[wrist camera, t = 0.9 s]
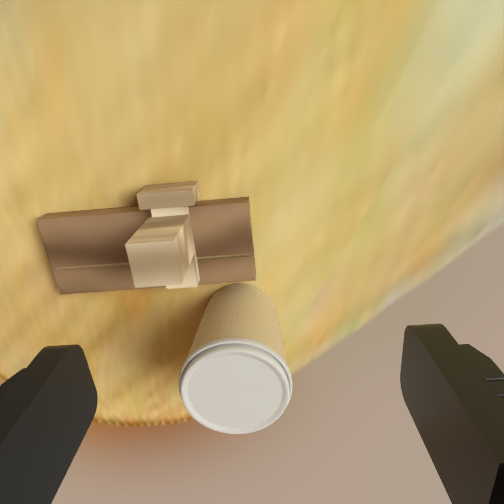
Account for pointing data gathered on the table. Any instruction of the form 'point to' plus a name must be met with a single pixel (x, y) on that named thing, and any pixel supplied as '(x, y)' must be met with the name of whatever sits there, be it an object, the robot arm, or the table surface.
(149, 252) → the beige stepped block
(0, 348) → the table surface
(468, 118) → the table surface
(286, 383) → the coffee cup
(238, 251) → the board
